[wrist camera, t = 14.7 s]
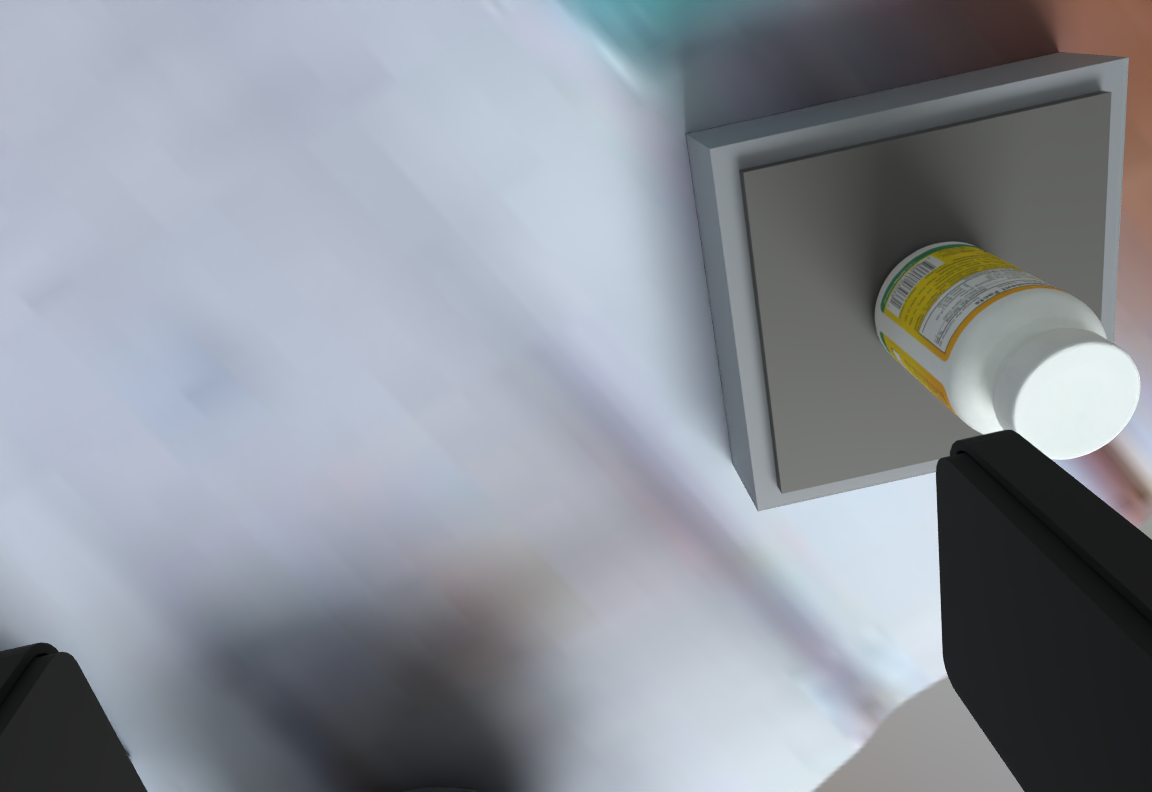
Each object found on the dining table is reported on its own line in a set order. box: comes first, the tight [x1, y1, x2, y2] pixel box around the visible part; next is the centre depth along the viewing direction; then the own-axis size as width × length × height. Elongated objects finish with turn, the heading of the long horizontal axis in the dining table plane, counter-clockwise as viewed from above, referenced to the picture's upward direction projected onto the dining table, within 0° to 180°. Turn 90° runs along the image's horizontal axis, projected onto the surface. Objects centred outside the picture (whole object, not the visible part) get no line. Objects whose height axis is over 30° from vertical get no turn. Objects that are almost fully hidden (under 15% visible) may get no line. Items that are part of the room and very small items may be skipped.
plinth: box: [686, 52, 1129, 511], centre depth 38 cm, size 16×16×5 cm
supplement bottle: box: [875, 242, 1140, 460], centre depth 32 cm, size 5×5×10 cm
